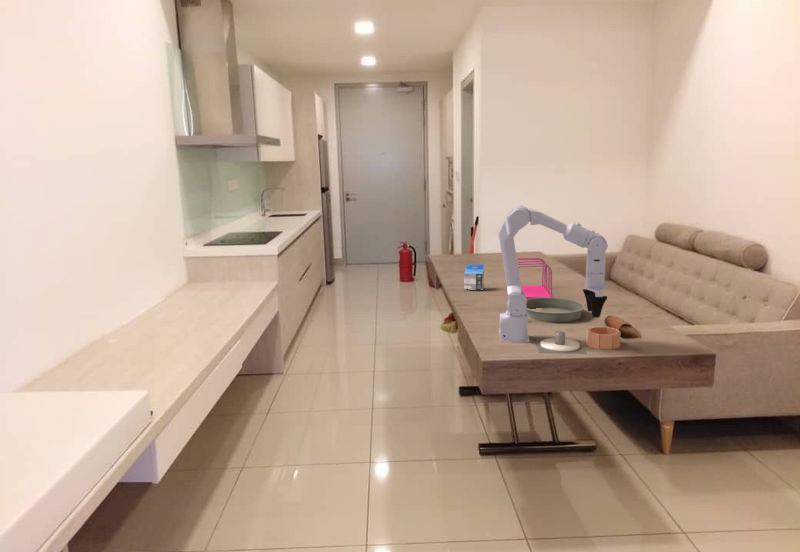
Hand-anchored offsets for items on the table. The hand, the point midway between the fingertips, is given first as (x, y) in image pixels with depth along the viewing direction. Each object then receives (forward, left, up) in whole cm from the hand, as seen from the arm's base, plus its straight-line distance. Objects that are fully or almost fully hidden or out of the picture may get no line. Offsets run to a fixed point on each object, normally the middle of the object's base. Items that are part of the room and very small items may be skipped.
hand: (593, 314), depth 179 cm
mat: (-11, -6, -10) cm, 16 cm away
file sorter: (-15, +71, -10) cm, 73 cm away
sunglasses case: (+12, +14, -10) cm, 21 cm away
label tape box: (-40, +80, -10) cm, 90 cm away
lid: (-11, -6, -9) cm, 15 cm away
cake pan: (-9, +35, -10) cm, 37 cm away
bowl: (+2, -4, -10) cm, 10 cm away
